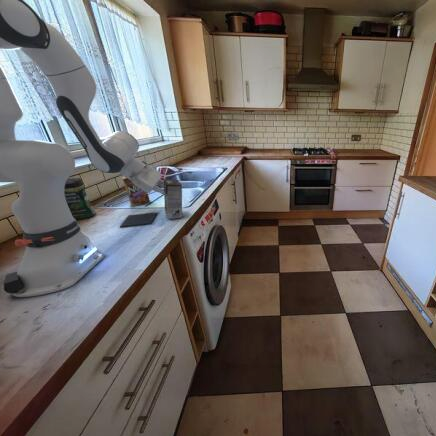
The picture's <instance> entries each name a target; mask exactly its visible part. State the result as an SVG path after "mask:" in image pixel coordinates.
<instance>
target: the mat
mask: <svg viewBox="0 0 436 436" xmlns="http://www.w3.org/2000/svg"><path fill="white" fill-rule="evenodd" d="M157 214H158V212H145V213H138V214H137V213H136V214H128V215H127V217H126V219H125V220H124V221H122V224H121V225H120V226H119V227H120V228H129V227H138V226H147V225H152V223H154V220H155V218H156V217H157Z"/></svg>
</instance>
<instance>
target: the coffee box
mask: <svg viewBox="0 0 436 436" xmlns="http://www.w3.org/2000/svg"><path fill="white" fill-rule="evenodd" d="M163 181H164V188H163V189H164V190H165V191H166V192H165V193H164V194H163V198H164V213H165V215H166V218H167V219H181V218H183V185H182V184H181V182H180V181H179V179H167V178H166V179H163Z"/></svg>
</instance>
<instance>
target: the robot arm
mask: <svg viewBox="0 0 436 436" xmlns="http://www.w3.org/2000/svg"><path fill="white" fill-rule="evenodd" d="M0 50H4V51H5V50H6V51H13V50H19V51H20V52H22V53H23V54H24V55H26V56H27V57H28V58H29V59H31V61H33V62H34V64H35V65H36V66H37V68H38V69H39V71H40V72H41V73H42V75H44V77H45V79H46V80H47V81H48V82H49V84H50V86H51V88H52V90H53V92H54V95H55V105H56V107H57V109H58V111H59V113H60V115H61V116H62V118H63V119H64V122H66V125H68V127H69V129H70V130H71V132H72V133H73V135H74V136H75V138H76V139H77V140H78V142H79V143H80V145H81V146H82V149H83V150H84V151H85V153H86V156H87V157H88V160H89V162H90V163H91V165H92V166H93V167H94V169H96V170H98V171H100V172H101V173H106V174H118V173H119V174H120V175H121V176H122V177H127V178H128V179H130V180H131V181H132V182H133V184H134V185H136V186H137V187H139V188H140V189H142V190H143V191H145V192H147V193H148V194H150V193H151V192H152V191H154V192H156V193H160V194H161V195H164V193H165V192H166V191H165V190H164V179H162V177H163V174H162V173H160V172H159V171H158V170H157V169H155V168H154V167H152V166H151V165H149V163H148V162H147V161H144V160H140V159H137V158H136V157H134V156H135V155H136V153H138V151H139V149H140V145H139V144H140V143H139V141H138V140H137V139H136V138H135V136H134V135H132V134H130V133H129V132H127V131H124V130H116V131H114V132H112V133H111V134H108V135H107V136H104V137H100V136H99V135H98V133H97V131H96V130H95V128H94V126H93V125H92V123H91V120H90V110H91V107H92V105H93V102H94V101H95V99H96V97H97V93H98V84H97V82H96V80H95V77H94V76H93V74H92V72H91V71H90V69H89V68H88V66H87V65H86V64H85V62H84V60H83V59H82V58H81V56H80V55H79V54H78V52H77V51H76V50H75V48H74V47H73V45H72V44H71V43H70V42H69V41H68V40H67V38H66V37H65V36H64V35H63V34H62V33H61V32H60V30H59V29H57V28H56V27H55V26H53V25H51V24H50V23H47V22H45V21H44V20H43V19H42V18H41V17H40V16H39V14H38V13H37V12H36V10H35V9H33V7H32V6H31V5H30V4H28V3H27V2H26V0H0ZM15 93H16V92H15V91H14V89H13V87H12V85H11V82H10V80H9V79H8V77H7V74H6V72H5V70H4V68H3V67H2V65H1V64H0V183H16V184H17V187H18V190H19V197H18V198H16V199H15V200H14V201H13V202H12V204H11V206H10V209H11V212H12V214H13V215H14V217H15V219H16V221H17V222H18V223H19V226H20V227H21V229H22V230H23V231H22V238H21V239H16V240H15V241H14V246H15V247H25V251H24V253H23V255H22V257H21V260H20V263H19V265H18V268H17V271H14V272H10V273H7V274H5V277H4V279H3V283H2V285H3V290H4V291H5V293H8V294H12V296H13V297H16V298H29V297H30V298H31V297H36V296H42V295H48V294H52V293H55V292H59V291H62V290H66V289H68V288H70V287H72V286H74V285H76V284H77V282H78V281H80V280H81V279H82V278H83V277H84V276H85V275H86V274H88V272H90V270H92V269H93V268H94V267H95V266H96V265H97V264H99V262H100V261H101V260H103V259H104V255H103V253H99V252H98V251H97V249H98V248H97V247H95V246H94V244H93V242H92V241H91V239H90V237H89V236H87V235H86V234H84V233H83V232H82V231H81V227H80V224H79V222H78V220H77V219H75V218H73V216H72V214H71V212H70V209H69V207H68V204H67V202H66V199H65V194H64V188H65V183H66V181H67V179H68V178H71V176H72V175H73V173H74V172H75V170H76V161H75V160H76V159H75V157H74V156H73V154H72V153H71V152H70V151H69V149H68V148H66V147H65V146H64V145H62V144H60V143H56V142H50V141H47V140H46V141H45V140H39V139H17V137H16V132H15V131H16V130H15V129H16V128H15V127H16V124H17V123H18V122H19V121H20V120H21V119H22V118H23V116H24V111H23V107H22V106H21V104H20V101H19V100H18V97H17V95H16V94H15ZM158 185H160V186H161V187H162V188H161V187H159V186H158Z"/></svg>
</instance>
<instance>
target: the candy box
mask: <svg viewBox="0 0 436 436" xmlns="http://www.w3.org/2000/svg"><path fill="white" fill-rule="evenodd" d="M122 181H123V184H124V187H125V191H126V194H127V197H128V200H129V203H130V207H136V206H141V205H142V206H143V205H147V204H148V205H149V204H151V199H150V197H149V193H147V192H145V191H143V190H142V189H140V188H139V187H137V186H136V185H134V184H133V182H132V181H131V180H130V179H128V178H127V177H125V176H122Z"/></svg>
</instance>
